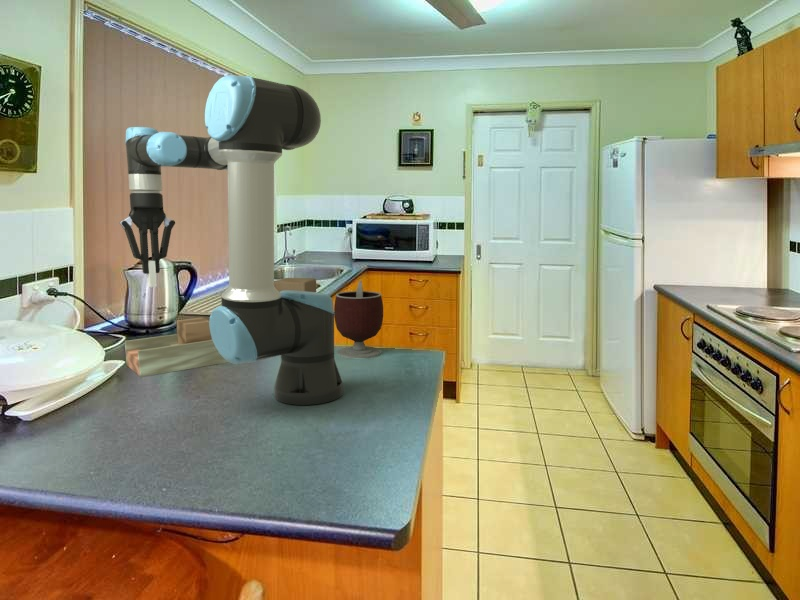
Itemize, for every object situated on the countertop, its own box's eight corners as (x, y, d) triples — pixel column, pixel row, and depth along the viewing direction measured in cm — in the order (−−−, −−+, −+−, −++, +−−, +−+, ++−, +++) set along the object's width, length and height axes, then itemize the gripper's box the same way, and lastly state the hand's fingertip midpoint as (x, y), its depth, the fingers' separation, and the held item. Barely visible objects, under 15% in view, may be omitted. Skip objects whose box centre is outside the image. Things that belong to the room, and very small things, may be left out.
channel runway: (268, 355, 161) (268, 332, 160) (140, 377, 140) (138, 351, 139) (248, 346, 172) (247, 324, 170) (126, 364, 151) (124, 340, 150)
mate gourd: (382, 359, 156) (382, 287, 153) (332, 359, 156) (331, 287, 153) (384, 346, 172) (383, 280, 169) (338, 346, 172) (337, 280, 169)
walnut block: (212, 346, 154) (211, 321, 153) (186, 350, 150) (185, 324, 148) (203, 342, 159) (202, 317, 158) (178, 345, 155) (176, 320, 154)
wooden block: (306, 350, 167) (304, 282, 164) (274, 348, 169) (272, 281, 166) (318, 342, 177) (316, 278, 173) (287, 340, 179) (285, 277, 175)
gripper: (168, 193, 149) (173, 282, 153) (114, 192, 141) (121, 286, 145) (177, 192, 143) (182, 285, 147) (121, 191, 135) (128, 290, 139)
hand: (152, 286), depth 146 cm, fingers closed
